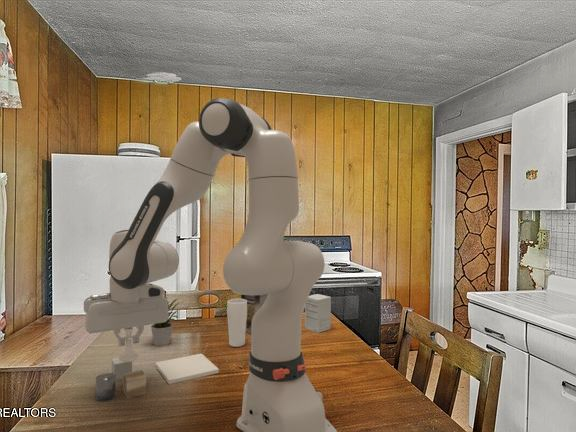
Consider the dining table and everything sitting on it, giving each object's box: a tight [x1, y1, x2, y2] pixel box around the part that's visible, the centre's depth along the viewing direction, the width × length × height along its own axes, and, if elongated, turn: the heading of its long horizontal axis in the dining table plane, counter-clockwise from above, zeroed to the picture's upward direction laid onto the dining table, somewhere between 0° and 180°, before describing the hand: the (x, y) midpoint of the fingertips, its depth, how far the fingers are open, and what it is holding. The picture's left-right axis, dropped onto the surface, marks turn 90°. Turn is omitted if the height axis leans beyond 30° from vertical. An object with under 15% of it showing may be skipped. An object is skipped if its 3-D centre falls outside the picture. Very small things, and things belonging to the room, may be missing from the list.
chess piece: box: [118, 327, 140, 363], centre depth 103 cm, size 5×5×10 cm
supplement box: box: [304, 293, 332, 334], centre depth 152 cm, size 7×7×13 cm
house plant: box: [150, 296, 184, 347], centre depth 135 cm, size 14×14×16 cm
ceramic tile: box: [155, 353, 220, 385], centre depth 113 cm, size 14×14×1 cm
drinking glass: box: [226, 298, 247, 348], centre depth 134 cm, size 7×7×15 cm
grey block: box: [111, 357, 133, 381], centre depth 109 cm, size 4×4×4 cm
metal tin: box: [95, 372, 117, 403], centre depth 96 cm, size 4×4×5 cm
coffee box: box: [240, 293, 268, 334], centre depth 149 cm, size 9×6×16 cm
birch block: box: [123, 369, 147, 399], centre depth 99 cm, size 4×4×4 cm
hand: (128, 344), depth 103 cm, fingers closed on chess piece, 2 cm apart
